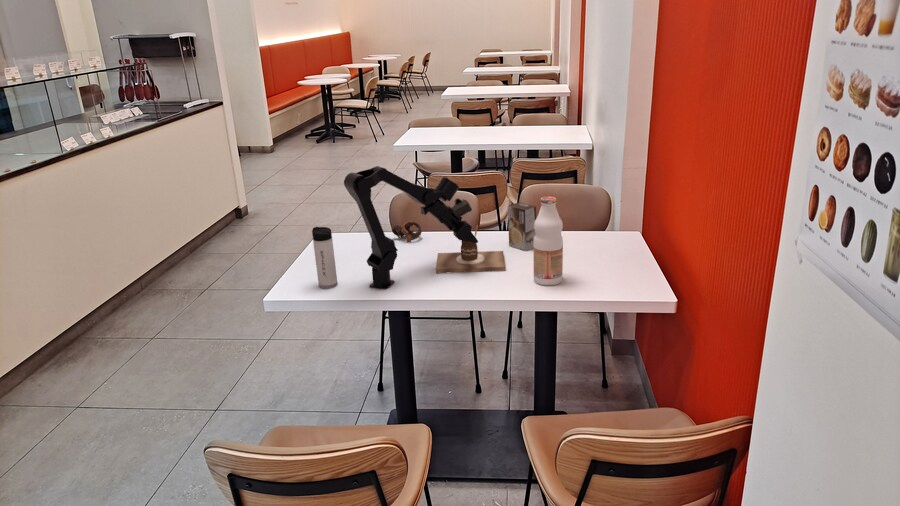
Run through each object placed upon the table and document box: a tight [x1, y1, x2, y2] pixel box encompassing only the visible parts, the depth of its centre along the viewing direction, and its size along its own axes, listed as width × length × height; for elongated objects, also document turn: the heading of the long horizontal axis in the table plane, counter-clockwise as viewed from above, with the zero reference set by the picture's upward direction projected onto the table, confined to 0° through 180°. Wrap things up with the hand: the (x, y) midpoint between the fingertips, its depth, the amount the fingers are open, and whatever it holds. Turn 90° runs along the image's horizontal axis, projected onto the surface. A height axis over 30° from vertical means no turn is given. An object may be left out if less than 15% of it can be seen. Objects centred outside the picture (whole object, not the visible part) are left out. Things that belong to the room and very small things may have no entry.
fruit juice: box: [533, 196, 564, 286], centre depth 204 cm, size 9×9×28 cm
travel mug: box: [311, 226, 338, 289], centre depth 211 cm, size 6×7×20 cm
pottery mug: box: [391, 220, 422, 243], centre depth 254 cm, size 12×10×8 cm
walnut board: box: [435, 250, 506, 274], centre depth 226 cm, size 24×16×2 cm, turn 88°
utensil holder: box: [460, 225, 479, 261], centre depth 224 cm, size 6×6×12 cm
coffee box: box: [507, 201, 537, 252], centre depth 238 cm, size 9×6×16 cm
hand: (473, 238), depth 224 cm, fingers open, 9 cm apart
